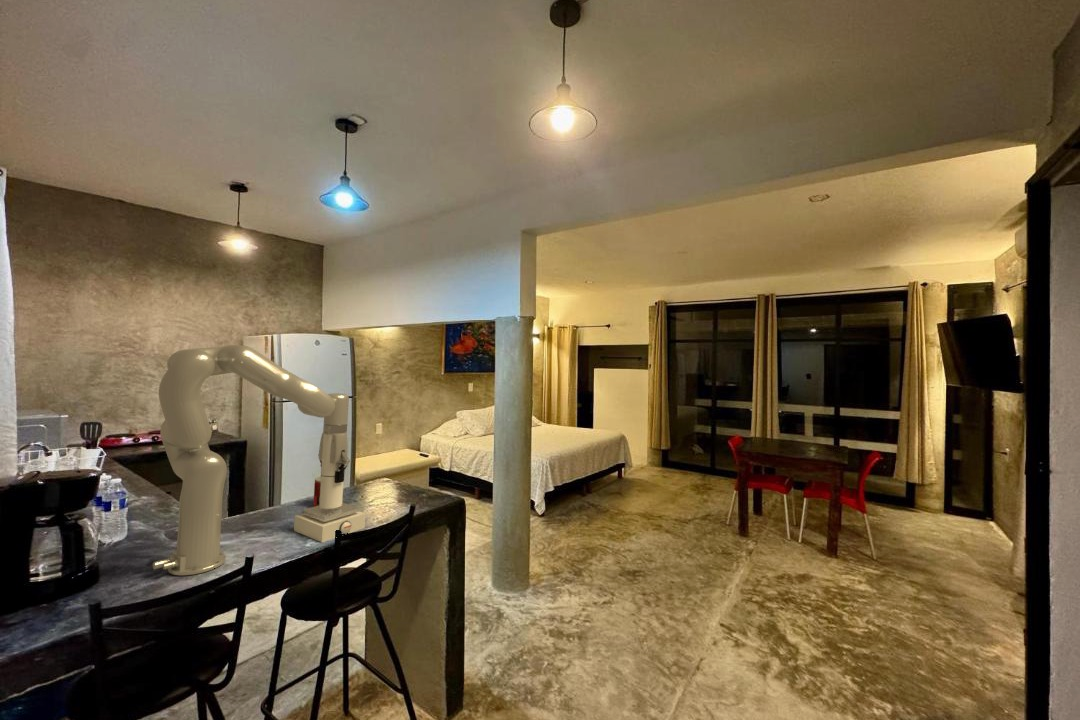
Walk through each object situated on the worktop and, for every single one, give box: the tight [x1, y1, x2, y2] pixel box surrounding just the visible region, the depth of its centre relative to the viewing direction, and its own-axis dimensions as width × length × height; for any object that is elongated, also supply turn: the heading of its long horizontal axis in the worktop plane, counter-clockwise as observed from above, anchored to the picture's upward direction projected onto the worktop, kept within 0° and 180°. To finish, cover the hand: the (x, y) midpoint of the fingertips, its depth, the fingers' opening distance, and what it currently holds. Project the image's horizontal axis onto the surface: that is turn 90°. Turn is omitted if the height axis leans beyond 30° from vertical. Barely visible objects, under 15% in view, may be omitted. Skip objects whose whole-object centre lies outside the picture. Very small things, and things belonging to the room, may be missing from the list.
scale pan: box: [301, 502, 360, 522], centre depth 150 cm, size 13×13×1 cm
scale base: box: [293, 511, 367, 543], centre depth 150 cm, size 16×17×5 cm
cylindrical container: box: [319, 434, 344, 509], centre depth 150 cm, size 7×7×25 cm
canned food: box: [313, 476, 321, 507], centre depth 173 cm, size 8×8×11 cm
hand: (332, 479), depth 150 cm, fingers closed on cylindrical container, 7 cm apart
